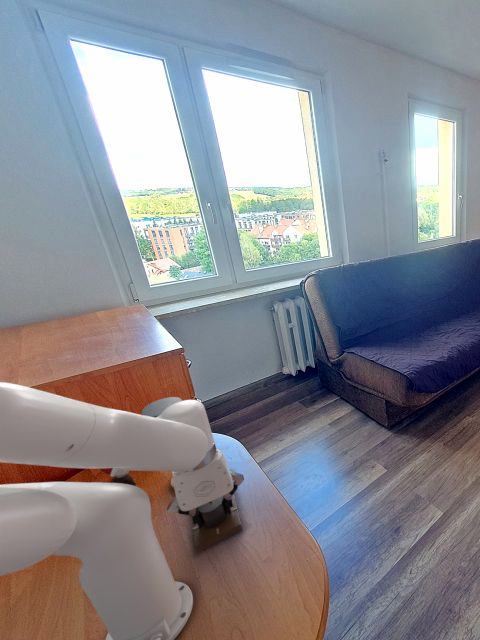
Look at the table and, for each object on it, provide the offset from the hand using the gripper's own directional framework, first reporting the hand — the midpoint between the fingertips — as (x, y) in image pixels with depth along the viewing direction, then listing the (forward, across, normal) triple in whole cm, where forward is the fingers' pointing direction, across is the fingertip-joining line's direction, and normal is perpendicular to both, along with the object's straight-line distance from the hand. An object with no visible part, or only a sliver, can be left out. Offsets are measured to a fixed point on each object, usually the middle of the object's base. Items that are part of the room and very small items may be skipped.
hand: (214, 515), depth 77 cm
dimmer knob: (+1, 0, 0) cm, 1 cm away
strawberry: (+3, -20, +33) cm, 39 cm away
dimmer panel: (+3, 0, 0) cm, 3 cm away
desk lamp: (+3, -5, +20) cm, 21 cm away
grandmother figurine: (+3, -16, +19) cm, 25 cm away
